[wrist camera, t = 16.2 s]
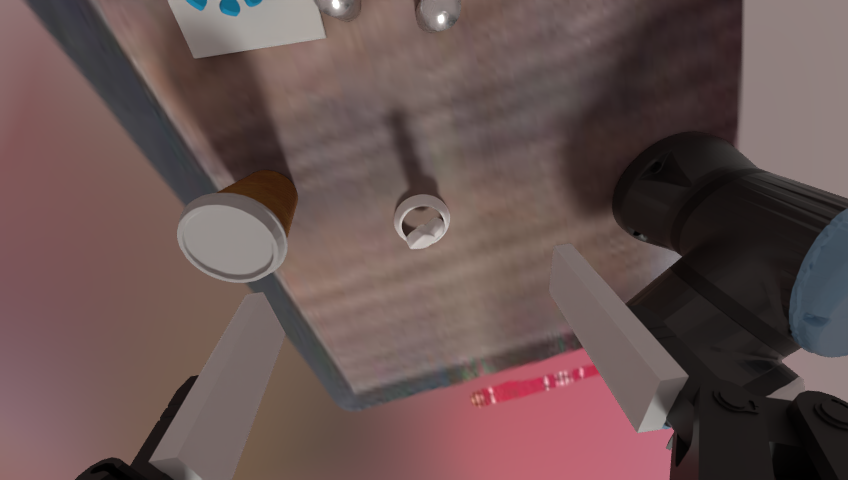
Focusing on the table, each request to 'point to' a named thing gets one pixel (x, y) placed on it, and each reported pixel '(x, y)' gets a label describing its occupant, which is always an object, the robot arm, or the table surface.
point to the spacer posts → (431, 12)
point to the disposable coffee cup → (240, 227)
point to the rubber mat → (247, 25)
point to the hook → (423, 233)
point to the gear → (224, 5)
